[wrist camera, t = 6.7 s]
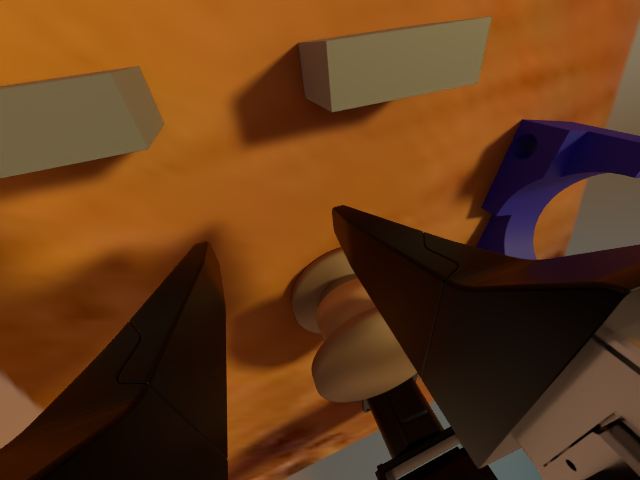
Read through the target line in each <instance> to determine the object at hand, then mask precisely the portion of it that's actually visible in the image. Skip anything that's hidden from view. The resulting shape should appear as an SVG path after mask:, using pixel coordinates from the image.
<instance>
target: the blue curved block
mask: <svg viewBox="0 0 640 480" xmlns="http://www.w3.org/2000/svg"><path fill="white" fill-rule="evenodd" d="M603 173H615V174H621V175H626V176H630V177H634V178H639V177H640V136H637V135H632V134H628V133H622V132H618V131H613V130H608V129H603V128H598V127H594V126H589V125H584V124H579V123H574V122H563V121H543V120H523V119H522V121H521V123H520V126H519V128H518V130H517V132H516V134H515V136H514V138H513V141H512V143H511V145H510V147H509V149H508V151H507V154H506V156H505V158H504V160H503V162H502V164H501V166H500V169H499V171H498V173H497V175H496V177H495V179H494V181H493V184H492V186H491V188H490V190H489V192H488V194H487V196H486V199H485V201H484V203H483V205H482V207H481V208H483V209H485V210H486V211H488V212H490V213H492V214H493V215H492V217H491V219H490V221H489V223H488V225H487V227H486V229H485V231H484V233H483V235H482V237H481V239H480V241H479V243H478V245H477V248H480V249H484V250H488V251H492V252H496V253H500V254H504V255H507V256H511V257H516V258H521V259H529V260H536V257H535V253H534V247H533V235H534V229H535V225H536V222H537V220H538V217H539V215H540V214H541V212H542V210H543V209H544V207H545V206H546V205H547V204H548V202H549V201H550V200H551V199H552V198H553V197H554V196H556V195H557V194H558V193H559V192H561V191H562V190H563V189H565V188H567V187H568V186H570V185H572V184H574V183H576V182H578V181H580V180H583V179H585V178H588V177H591V176H595V175H598V174H603Z"/></svg>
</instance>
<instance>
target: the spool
mask: <svg viewBox="0 0 640 480" xmlns="http://www.w3.org/2000/svg"><path fill="white" fill-rule="evenodd" d="M291 306H292V310H293V313H294V316H295V319H296V320H297V322H298V324H299V325H300V326H301V327H303V328H304V329H306V330H308V331H310V332H313V333H317V334H321V335H322V337H323V340H324V343H323V344H322V345H321V347H320V348H319V350H318V351H317V353H316V355H315V357H314V360H313V363H312V376H313V379H314V382H315V385H316V389H317V391H318V393H319V394H320V395H321V396H322V397H323V398H325V399H327V400H329V401H333V402H354V401H360V400H364V399H368V398H371V397H374V396H377V395H379V394H382V393H384V392H386V391H389V390H390V389H392V388H394V387H396V386H398V385H400V384H401V383H403V382H405V381H406V380H408V379H409V378H411V377H412V376H413V375H415V374H416V373H417V371H416V370H415V368H414V366H413V365H412V363H411V362H410V360H409V359H408V357H407V355H406V354H405V352H404V351H403V349H402V347H401V346H400V344H399V343H398V341H397V340H396V338H395V336H394V335H393V333H392V332H391V330H390V328H389V327H388V325H387V324H386V322H385V320H384V319H383V317H382V316H381V314H380V313H379V311H378V309H377V308H376V306H375V305H374V303H373V301H372V300H371V298H370V297H369V295H368V294H367V292H366V290H365V289H364V287H363V286H362V284H361V282H360V281H359V279H358V278H357V276H356V275H355V273H354V271H353V270H352V268H351V266H350V264H349V262H348V260H347V258H346V256H345V254H344V252H343V249H342V247H341V248H338V249H335V250H332V251H330V252H328V253H326V254H324V255H322V256H321V257H319V258H317V259H316V260H315V261H313V262H312V263H311V264H310V265H309V266H308V267H306V268H305V270H304V271H303V272H302V273H301V274H300V276H299V277H298V278H297V280H296V282H295V284H294V286H293V289H292V293H291Z"/></svg>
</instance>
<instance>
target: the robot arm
mask: <svg viewBox="0 0 640 480" xmlns="http://www.w3.org/2000/svg"><path fill="white" fill-rule="evenodd" d="M332 217H333V227H334V232H335V234H336V236H337V239H338V241H339V243H340V245H341V247H342V249H343V252H344V254H345V256H346V258H347V260H348V262H349V264H350V266H351V268H352V270H353V271H354V273H355V275H356V276H357V278H358V279H359V281H360V282H361V284H362V286H363V287H364V289H365V290H366V292H367V294H368V295H369V297H370V298H371V300H372V301H373V303H374V305H375V306H376V308H377V309H378V311H379V313H380V314H381V316H382V317H383V319H384V320H385V322H386V324H387V325H388V327H389V328H390V330H391V332H392V333H393V335H394V336H395V338H396V340H397V341H398V343H399V344H400V346H401V347H402V349H403V351H404V352H405V354H406V355H407V357H408V359H409V360H410V362H411V363H412V365H413V366H414V368H415V370H416V371H417V373H418V374H419V376H420V378H422V381H423V383H424V384H425V386H426V387H427V389H428V391H429V392H430V394H431V395H432V397H433V398H434V400H435V402H436V403H437V405H438V406H439V408H440V410H441V411H442V413H443V414H444V416H445V417H446V419H447V421H448V422H449V424H450V425H451V427H449V428H447V429H445V430H444V428H443V427H442V425H441V423H440V422H439V420H438V419H437V417H436V415H435V414H434V412H433V410H432V409H431V407H430V405H429V404H428V402H427V400H426V399H425V397H424V395H423V394H422V392H421V390H420V389H419V387H418V386H417V384H416V378H417V373H416V374H415V375H413V376H412V377H411V378H409V379H408V380H406V381H405V382H403V383H401V384H400V385H398V386H396V387H394V388H392V389H390V390H389V391H386V392H384V393H382V394H379V395H377V396H374V397H371V398H368V399H364V400H362V408H363V411H364V412H369V411H372V414H373V416H374V418H375V421H376V423H377V425H378V427H379V430H380V432H381V434H382V437H383V439H384V441H385V444H386V446H387V448H388V450H389V453H390V455H391V457H392V459H391V460H390V461H388V462H386V463H384V464H380V465H378V466H377V469H378V470H377V471H376V472H375V473H376V476H377V478H378V480H396V478H398V477H400V476H401V475H403V474H405V473H407V472H409V471H411V470H412V469H414V468H416V467H418V466H420V465H421V464H423V463H425V462H427V461H428V460H430V459H432V458H434V457H436V456H437V455H439V454H441V453H443V452H445V451H446V450H448V449H450V448H452V447H454V446H455V445H457V444H459V443H460V444H461V445H462V447H463V448H461V449H459V448H458V447H455V448H454V449H452V450H450V451H448V452H446V453H445V454H443V455H441V456H439V457H437V458H436V459H434V460H432V461H430V462H428V463H426V464H425V465H423V466H421V467H419V468H417V469H416V470H414V471H412V472H410V473H408V474H407V475H405V476H403V477H401V478H400V479H398V480H498V479H497V478H496V476H495V475H494V473H493V472H492V470H491V469H490V468H489V466H488V464H490V463H492V462H494V461H496V460H498V459H500V458H502V457H504V456H506V455H508V454H510V453H512V452H514V451H516V450H518V449H520V448H522V449H523V451H524V452H525V453H526V455H527V456H528V457H529V458H530V460H531V461H532V462H533V464H534V465H535V466H536V467H537V469H538V470H539V473H540V475H541V477H542V479H543V480H640V245H634V246H628V247H621V248H615V249H609V250H602V251H596V252H590V253H584V254H577V255H571V256H565V257H558V258H552V259H544V260H529V259H521V258H516V257H511V256H507V255H504V254H500V253H496V252H492V251H488V250H484V249H480V248H477V247H473V246H469V245H465V244H461V243H458V242H454V241H450V240H447V239H444V238H441V237H438V236H435V235H432V234H429V233H426V232H424V233H423V232H422V231H420V230H417V229H414V228H411V227H408V226H405V225H402V224H399V223H396V222H393V221H390V220H387V219H384V218H381V217H378V216H375V215H372V214H369V213H366V212H363V211H360V210H357V209H354V208H351V207H348V206H345V205H341V206H337V207H334V208H333V209H332ZM227 457H228V455H227V380H226V309H225V299H224V292H223V286H222V279H221V273H220V266H219V263H218V260H217V258H216V255H215V253H214V251H213V249H212V247H211V245H210V243H209V242H207V241H206V242H202V243H198V244H195V245H194V246H193V247H192V249H191V250H190V251H189V252H188V253H187V254H186V256H185V257H184V258H183V259H182V260H181V261H180V263H179V264H178V265H177V266H176V267H175V268H174V269H173V271H172V272H171V273H170V274H169V275H168V276H167V278H166V279H165V280H164V281H163V282H162V283H161V285H160V286H159V287H158V288H157V289H156V290H155V292H154V293H153V294H152V295H151V296H150V297H149V298H148V300H147V301H146V302H145V303H144V304H143V305H142V307H141V308H140V309H139V310H138V311H137V312H136V314H135V315H134V316H133V317H132V318H131V319H130V322H128V323H127V324H126V325H125V326H124V327H123V329H122V330H121V331H120V332H119V333H118V334H117V335H116V337H115V338H114V339H113V340H112V341H111V342H110V343H109V344H108V345H107V347H106V348H105V349H104V350H103V351H102V352H101V353H100V354H99V355H98V356H97V357H96V358H95V359H94V360H93V361H92V362H91V363H90V364H89V366H88V367H87V368H86V369H85V370H84V371H83V372H82V373H81V374H80V375H79V376H78V377H77V378H76V379H75V380H74V381H73V382H72V383H71V384H70V385H69V386H68V387H67V388H66V389H65V390H64V391H63V392H62V393H61V394H60V395H59V396H58V397H57V398H56V399H55V400H54V401H53V402H52V403H51V404H50V405H49V406H48V407H47V408H46V409H45V410H44V411H43V412H42V413H41V414H40V415H39V416H38V417H37V418H36V419H35V420H34V421H33V422H32V423H31V424H30V425H29V426H28V427H27V428H26V429H25V430H24V431H23V432H22V433H20V434H19V435H18V436H17V437H16V438H15V439H13V440H12V441H11V442H9V443H8V444H7V445H5V446H4V447H3V448H1V449H0V480H228V461H227Z"/></svg>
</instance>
